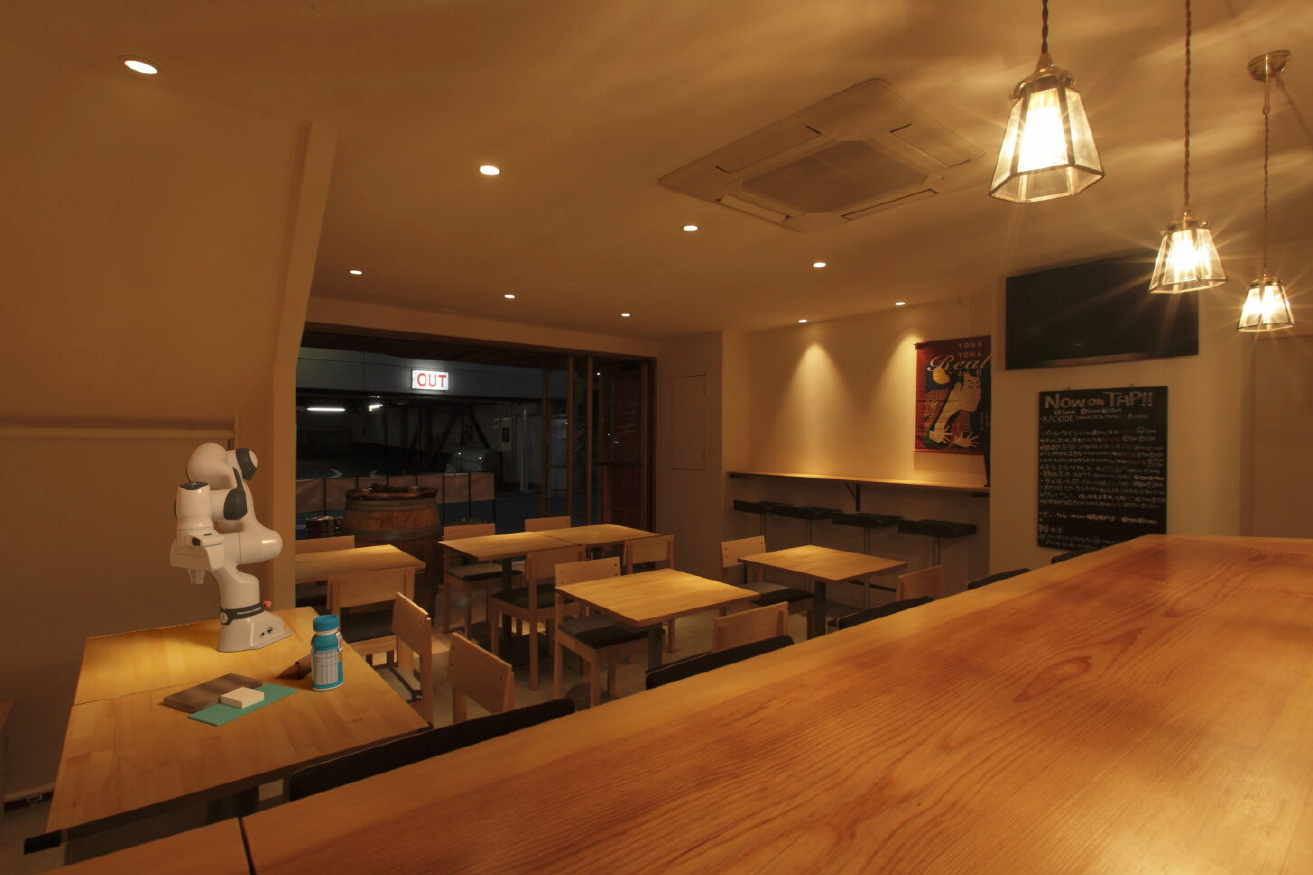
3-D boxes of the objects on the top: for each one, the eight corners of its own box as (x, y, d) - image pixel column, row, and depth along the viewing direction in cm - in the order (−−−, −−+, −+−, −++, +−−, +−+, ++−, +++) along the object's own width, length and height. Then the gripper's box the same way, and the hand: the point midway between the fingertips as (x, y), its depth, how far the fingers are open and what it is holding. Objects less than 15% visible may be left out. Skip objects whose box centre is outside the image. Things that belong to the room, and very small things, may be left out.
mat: (269, 684, 184) (269, 682, 184) (297, 691, 179) (297, 689, 179) (188, 717, 164) (188, 715, 164) (217, 726, 159) (217, 724, 159)
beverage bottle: (321, 694, 177) (319, 624, 176) (305, 687, 181) (303, 619, 181) (350, 683, 184) (348, 616, 183) (333, 677, 189) (331, 611, 188)
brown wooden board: (231, 679, 188) (231, 672, 188) (262, 686, 182) (262, 680, 182) (163, 704, 171) (163, 697, 171) (195, 713, 166) (195, 706, 166)
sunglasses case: (310, 656, 205) (319, 639, 205) (328, 667, 205) (338, 650, 205) (273, 679, 188) (283, 660, 187) (293, 691, 187) (303, 673, 187)
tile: (242, 693, 177) (242, 686, 177) (264, 699, 173) (263, 692, 173) (220, 702, 171) (220, 695, 171) (242, 708, 168) (241, 701, 167)
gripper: (162, 536, 187) (164, 582, 188) (205, 541, 179) (207, 589, 180) (185, 532, 193) (187, 577, 194) (228, 537, 185) (229, 584, 185)
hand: (197, 583), depth 187 cm, fingers closed
